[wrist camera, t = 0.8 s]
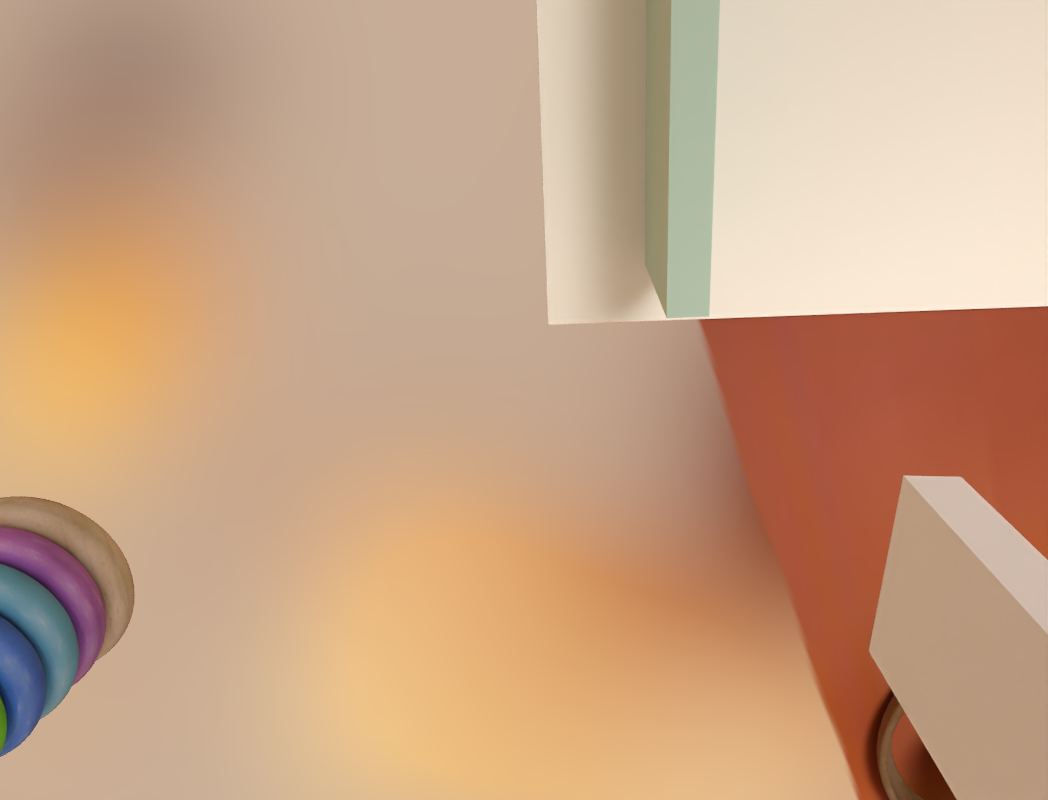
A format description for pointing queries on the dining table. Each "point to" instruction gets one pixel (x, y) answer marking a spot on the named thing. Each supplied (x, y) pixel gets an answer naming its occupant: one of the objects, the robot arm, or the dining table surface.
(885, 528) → the dining table surface
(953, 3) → the card
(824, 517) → the dining table surface
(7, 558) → the stacking toy
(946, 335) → the dining table surface
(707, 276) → the green fence panel
